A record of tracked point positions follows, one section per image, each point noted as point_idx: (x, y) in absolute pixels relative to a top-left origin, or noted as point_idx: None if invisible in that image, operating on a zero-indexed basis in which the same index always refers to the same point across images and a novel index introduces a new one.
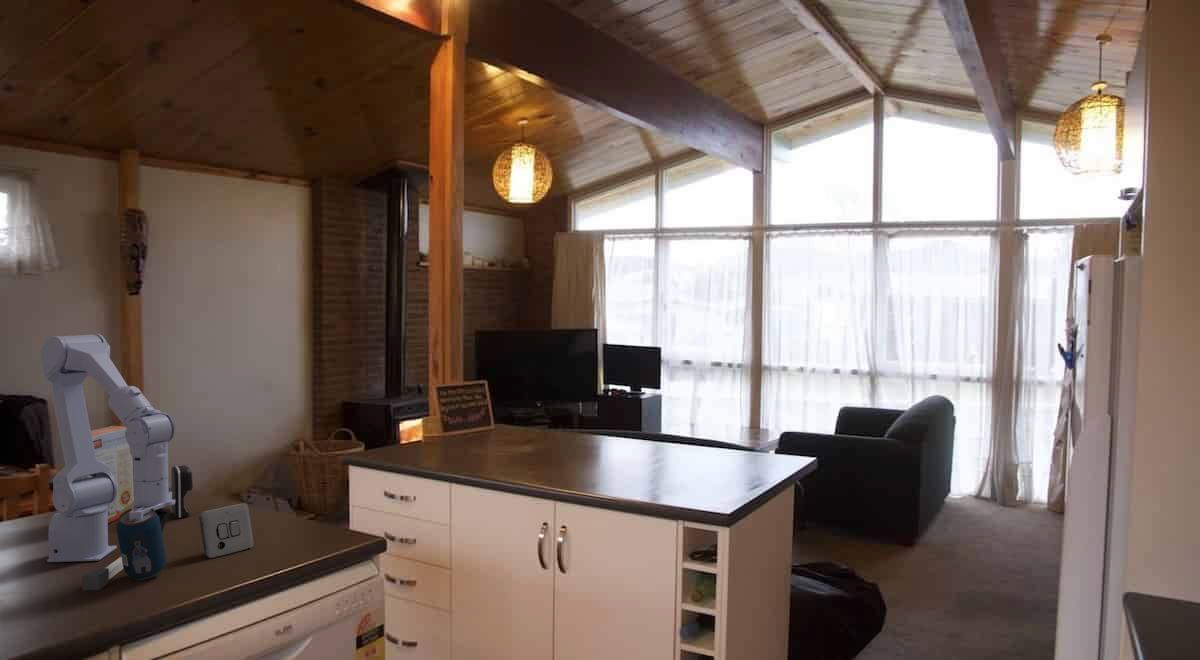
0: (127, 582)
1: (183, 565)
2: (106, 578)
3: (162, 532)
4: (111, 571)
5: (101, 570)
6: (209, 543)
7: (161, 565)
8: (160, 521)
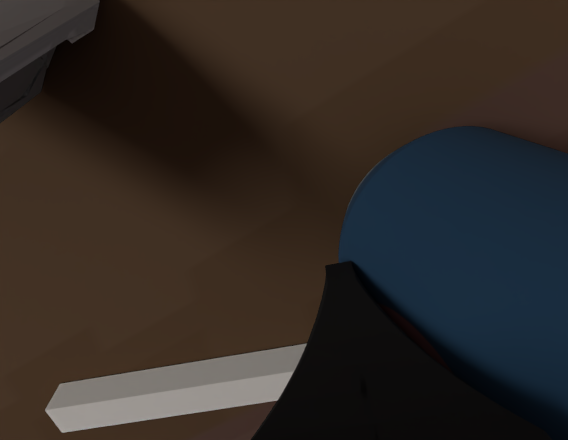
0: None
1: (246, 105)
2: None
3: (317, 329)
4: None
5: None
6: (35, 15)
7: (484, 128)
8: (517, 416)
